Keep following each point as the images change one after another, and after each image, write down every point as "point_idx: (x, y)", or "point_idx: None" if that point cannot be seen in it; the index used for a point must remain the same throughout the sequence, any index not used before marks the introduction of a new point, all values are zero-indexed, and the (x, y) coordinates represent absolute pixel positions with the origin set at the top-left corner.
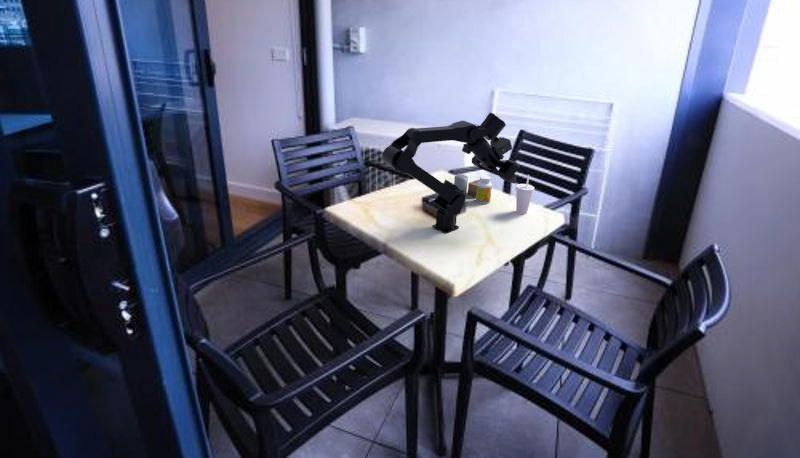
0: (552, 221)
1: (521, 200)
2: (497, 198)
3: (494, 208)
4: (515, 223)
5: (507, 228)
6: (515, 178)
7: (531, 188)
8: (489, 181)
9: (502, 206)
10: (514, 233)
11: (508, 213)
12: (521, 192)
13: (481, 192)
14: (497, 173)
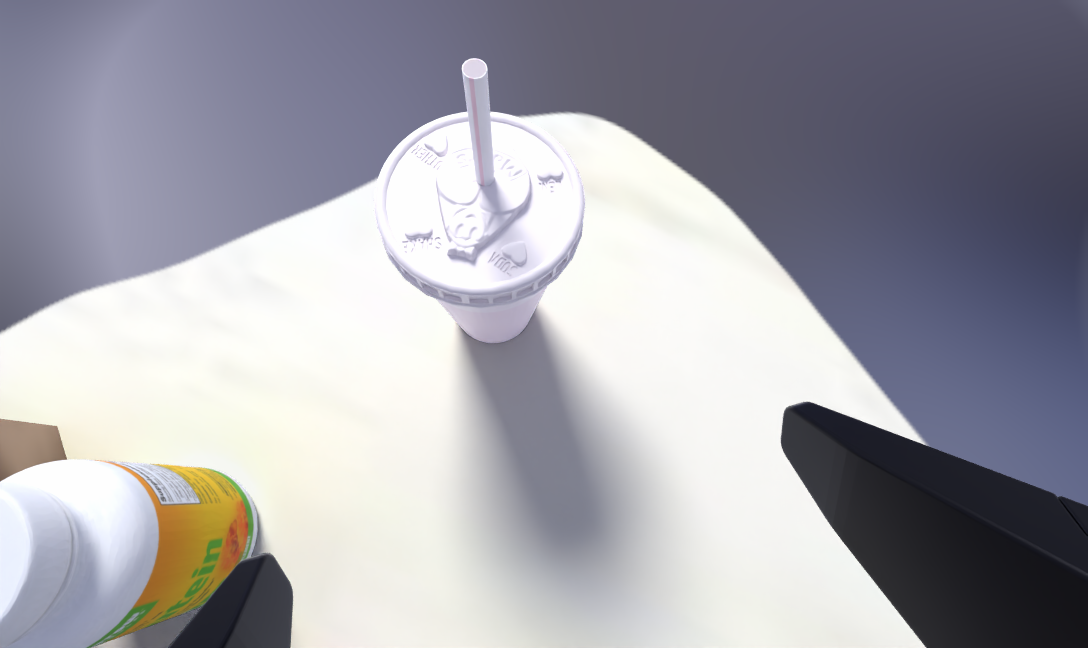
0: (674, 183)
1: (535, 300)
2: (174, 371)
3: (371, 490)
4: (684, 444)
5: (768, 550)
6: (919, 454)
7: (535, 155)
8: (68, 524)
9: (350, 402)
10: None
11: (496, 415)
12: (542, 281)
13: (158, 611)
14: (275, 605)
